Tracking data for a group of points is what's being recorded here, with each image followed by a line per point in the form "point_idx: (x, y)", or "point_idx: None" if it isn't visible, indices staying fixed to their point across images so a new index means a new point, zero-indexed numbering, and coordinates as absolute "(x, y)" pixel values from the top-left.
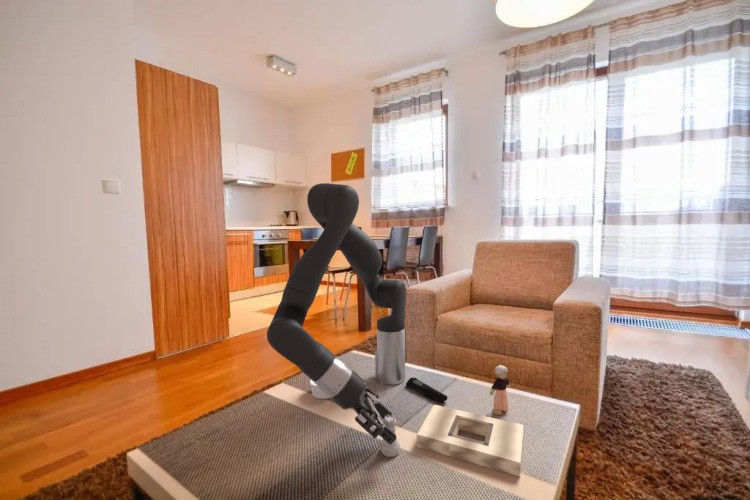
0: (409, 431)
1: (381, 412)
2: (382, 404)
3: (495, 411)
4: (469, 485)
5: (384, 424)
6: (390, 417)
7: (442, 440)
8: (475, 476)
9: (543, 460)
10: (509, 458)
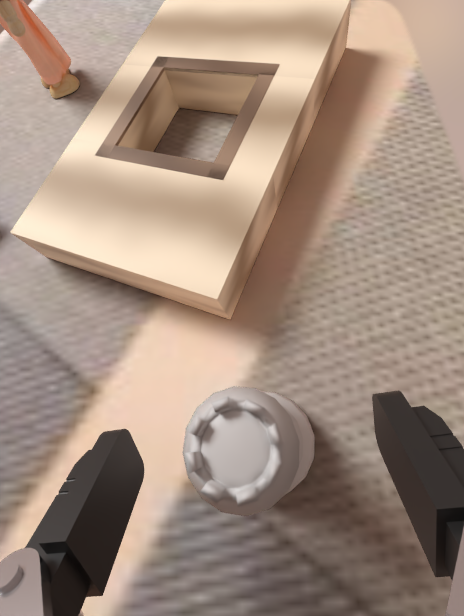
0: (132, 351)
1: (108, 526)
2: (46, 531)
3: (67, 86)
4: (415, 154)
5: (281, 497)
6: (213, 441)
7: (257, 196)
8: (367, 139)
9: None
10: (336, 17)
